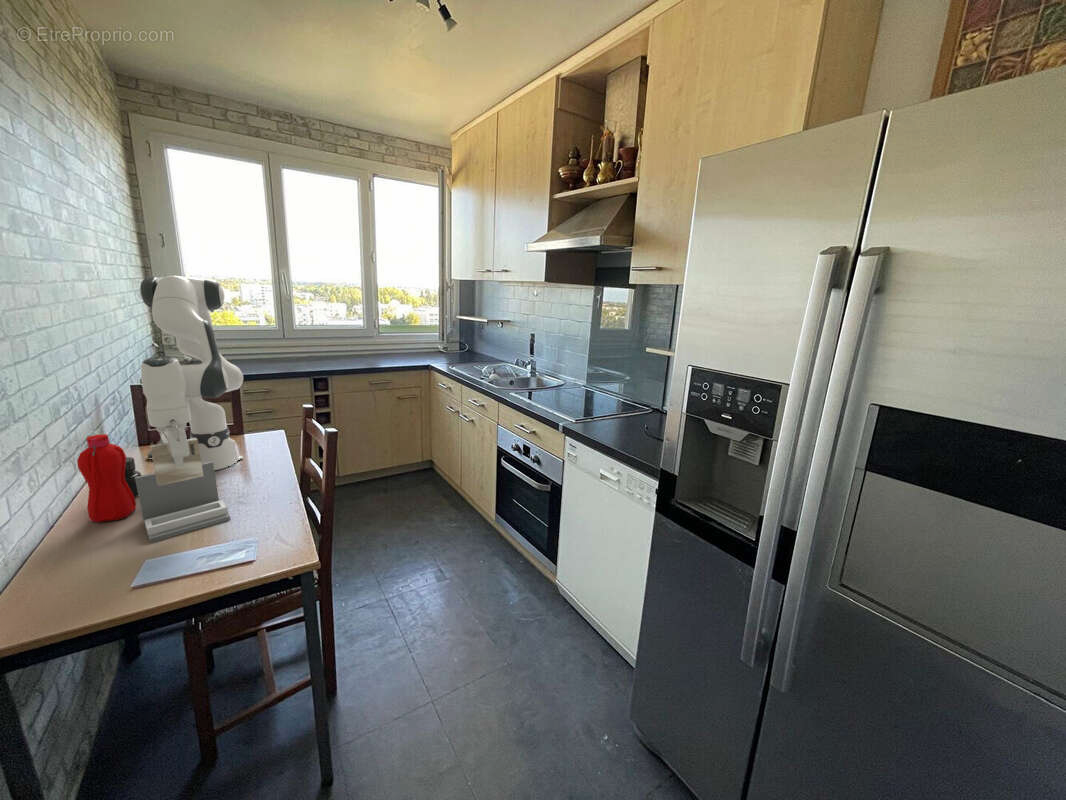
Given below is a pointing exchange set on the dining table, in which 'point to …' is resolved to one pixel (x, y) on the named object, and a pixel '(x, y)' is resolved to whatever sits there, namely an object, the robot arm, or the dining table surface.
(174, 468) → the door panel
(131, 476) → the ink bottle
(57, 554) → the dining table surface
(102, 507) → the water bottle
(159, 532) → the grey tablet stand
